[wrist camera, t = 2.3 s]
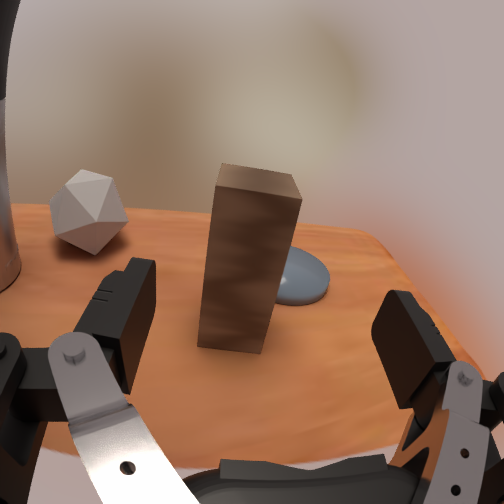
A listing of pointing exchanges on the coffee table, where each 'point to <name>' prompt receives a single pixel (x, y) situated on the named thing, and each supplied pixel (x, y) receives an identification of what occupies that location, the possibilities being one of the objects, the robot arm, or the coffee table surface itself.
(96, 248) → the die
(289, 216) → the walnut block
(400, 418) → the coffee table surface
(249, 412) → the coffee table surface
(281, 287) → the slate dish
